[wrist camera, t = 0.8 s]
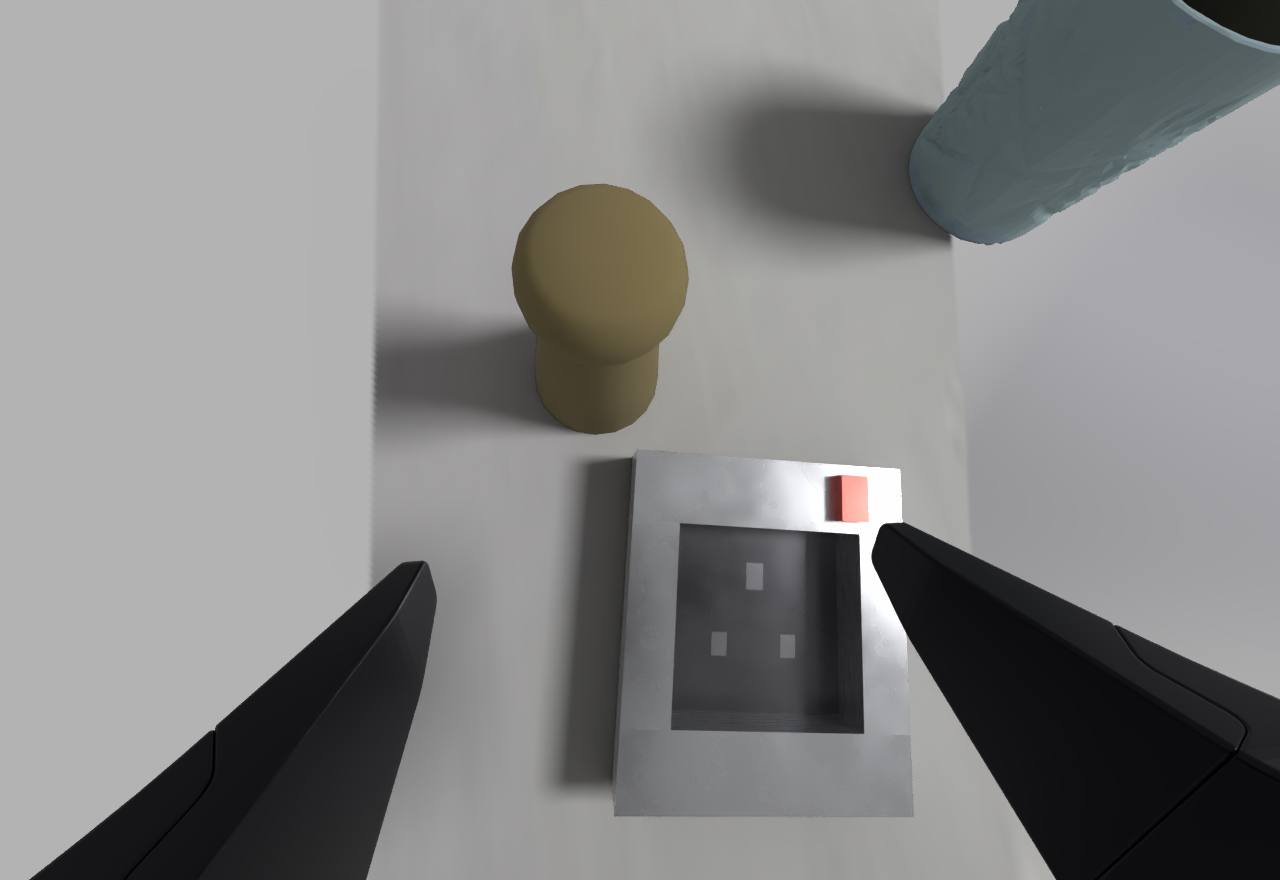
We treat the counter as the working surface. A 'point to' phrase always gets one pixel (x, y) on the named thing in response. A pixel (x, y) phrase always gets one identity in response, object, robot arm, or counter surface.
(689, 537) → the socket plate
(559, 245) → the cork
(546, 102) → the counter surface
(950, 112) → the teal cup
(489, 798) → the counter surface
